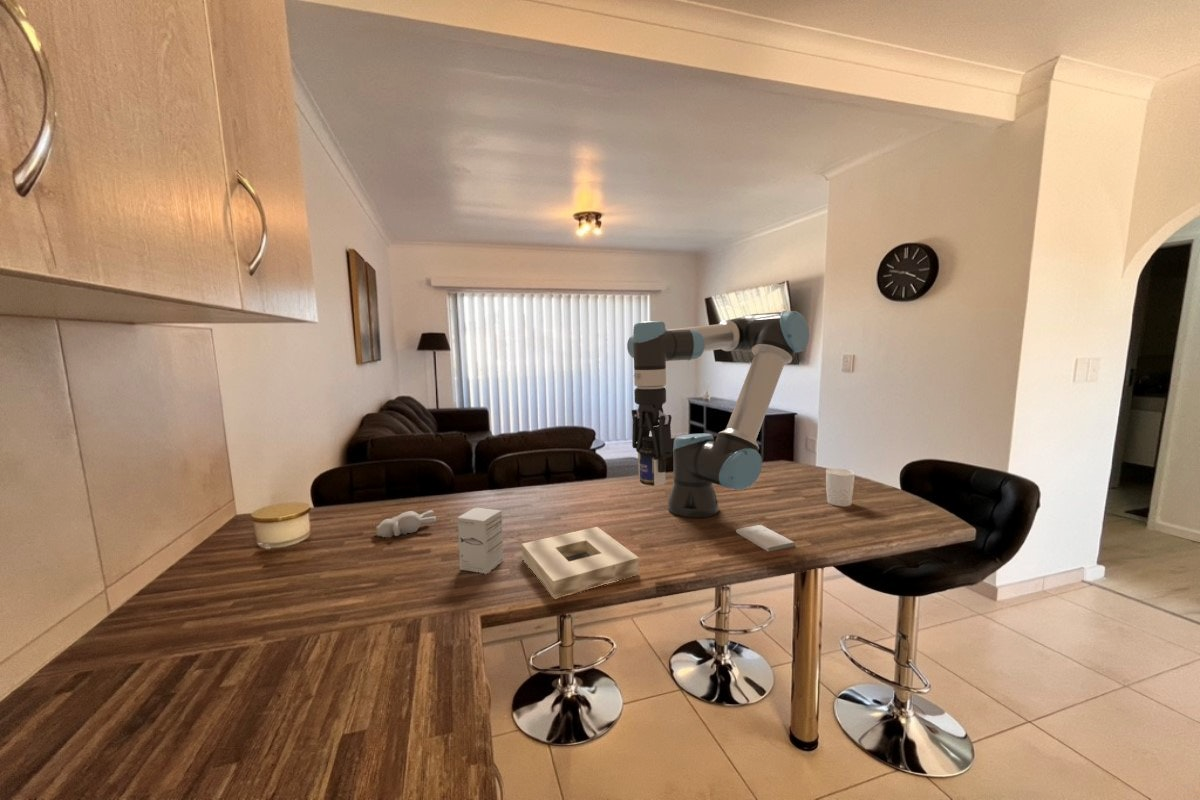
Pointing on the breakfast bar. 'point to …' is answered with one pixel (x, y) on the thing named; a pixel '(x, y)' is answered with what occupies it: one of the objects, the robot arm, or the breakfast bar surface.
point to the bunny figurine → (404, 523)
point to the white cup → (839, 486)
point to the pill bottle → (647, 461)
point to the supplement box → (480, 540)
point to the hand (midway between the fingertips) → (651, 481)
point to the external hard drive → (765, 538)
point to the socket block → (578, 561)
